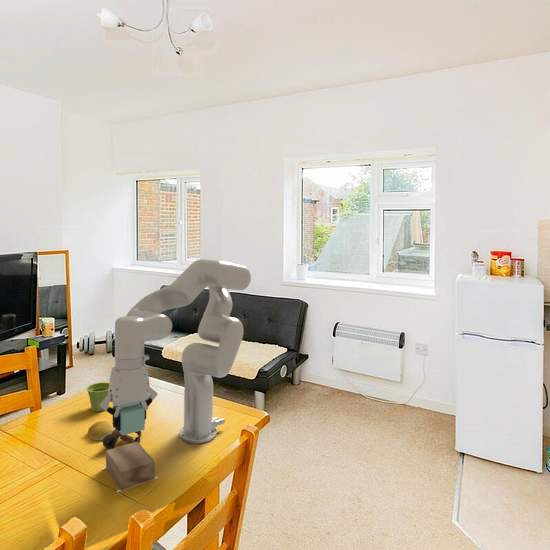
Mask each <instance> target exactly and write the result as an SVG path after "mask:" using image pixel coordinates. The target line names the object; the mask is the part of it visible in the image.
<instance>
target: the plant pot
mask: <svg viewBox="0 0 550 550" xmlns="http://www.w3.org/2000/svg"><path fill="white" fill-rule="evenodd" d="M86 391H87V394H88V397H89V403H90V408H91V411H92V412H94V413H95V412H96V413H99V412H101V411H102V412H105V411H106V410H104V409H103V408H101V407H100V403H101V402H102V401H103V400H104V399H105V398H106V396H107V395H108V391H109V382H96V383H93V384H89V385H88V386H87V387H86ZM110 403H111V402H109V403H108V406H110Z"/></svg>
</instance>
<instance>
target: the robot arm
mask: <svg viewBox="0 0 550 550" xmlns="http://www.w3.org/2000/svg"><path fill="white" fill-rule="evenodd" d="M251 281H252V274H251V271H250V270H249V269H248V268H247V266H245V265H241V264H236V263H233V262H229V261H224V260H219V259H218V260H217V259H207V258H206V259H204V258H202V259H201V258H200V259H197V260H195V261H193V262H192V263H191V264H190V265H189V266H188V267H187V268H186V269H185V270H184V271H183V272H182V273H181V274H180V275H178V277H177V278H176V279H175V280H173V282H172V283H169V285H167V286H165V287H161V288H159V289H157V290H155V291H154V292H151V293H149V294H147V295H145V296H144V297H142V298H141V299H140V300H139V301H138V302H137V303H135V304H134V305H133V306H132V308H130V309H129V311H128V313H126V315H125V316H121V317H118V318H117V319H116V320H115V323H114V366H113V367H112V368H111V370H110V375H109V382H108V383H109V391H108V395H107V396H106V398H105V399H104V400H103V401H102V402H101V403H100V407H101V408H103V409H104V410H105V411H106V412H107V413H109V414H110V415H112V425H113V427H114V428H115V429H116V430H117V431H120V416H119V413H120V410H121V407H122V406H125V405H129V404H134V403H139V404H140V405H141V406H142V407H143V408H145V421H146V420H147V410H148V409H149V407H150V405H151V404H152V403H153V401H154V400H155V399H156V398H157V396H158V392H157V391H155V390H154V389H153V388H151V387H150V377H149V372H148V371H149V370H148V367H147V364H146V361H149V360H150V355H149V354H145V343H146V342H150V341H153V342H154V341H161V340H163V339H166V338H167V337H168V336H169V335H170V334H171V331H172V329H173V322H172V320H171V319H170V317H169V316H168V315H166V314H163V313H162V312H165V311H169V310H173V309H178V308H179V309H180V308H183V307H186V306H188V305H191V304H192V303H193V302H194V300H196V298H198V296H199V295H200V294H201V293H202V292H203V291H204V290H205V289H206V288H207V287H208V292H209V299H208V303H207V306H206V308H205V310H204V312H203V315H202V318H201V320H200V322H199V325H198V328H197V335H198V337H199V338H200V339H201V340H203V341H206V342H209V343H214V344H218V346H216V345H212V344H207V343H202V342H192V343H190V344H188V345H186V346H185V347H184V349H183V351H182V352H181V353H182V354H181V364H182V370H183V376H184V391H183V392H184V398H183V401H184V402H183V427H181V429H180V430H179V431H178V436H179V439H180V440H182V441H183V442H186V443H190V444H202V443H203V444H204V443H207V442H211V441H212V440H213V439H215V438H216V436H217V433H218V432H217V427H218V426H221V425H225V422H226V420H225V418H224V417H222V418H219V419H218V417H217V416H216V417H213V415H214V414H213V412H214V411H213V408H214V406H213V405H214V381H213V378H212V377H214V378H220V379H221V378H224V377H226V376H227V375H229V374H230V372H231V371H232V370H231V369H233V368H232V367H233V365H234V363H235V360H236V357H237V355H238V353H239V352H238V351H239V349H240V346H241V344H242V341H243V337H244V325H243V323H242V322H241V320H240V319H238V318H237V317H232V316H230V315H231V312H232V309H233V300H232V299H233V298H232V296H231V294H230V291H229V290H232V291H243V290H246V289H247V288H248V287H249V285H250V283H251ZM109 402H110V403H112V407H111V406H110V405H109V406H108V403H109ZM110 403H109V404H110ZM214 437H215V438H214Z"/></svg>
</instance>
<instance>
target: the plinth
mask: <svg viewBox="0 0 550 550" xmlns="http://www.w3.org/2000/svg"><path fill="white" fill-rule="evenodd" d="M155 464H156V461H155V460H154V459H153V458H152V456H151V455H150V454H149V453H148V452H147V451H146V449H145V448H144V447H143V446H142V445H141V444H140V443H138V442H134V443H130V444H129V443H127V444H125V445H120V446H117V447H114V448H113V449H107V450H105V467H106V468H107V469H106V470H107V471H108V473H109V474H110V476H111V478H112V479H113V481H114V482H115V484H116V485H117V487H118V488H119V489H121V490H123V491H124V489H125V490H128V489H131V488H133V486H134V487H136V486H135V485H137V486H139V485H141V483H142V484H145V483H147V481H148V482H150V480H151V481H153V480H152V479H154V480H156V479H155V477H156V476H155V475H156V474H155V473H156V470H155V468H156V467H155V466H156V465H155ZM144 482H145V483H144ZM138 484H139V485H138ZM130 487H131V488H130ZM127 488H128V489H127Z"/></svg>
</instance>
